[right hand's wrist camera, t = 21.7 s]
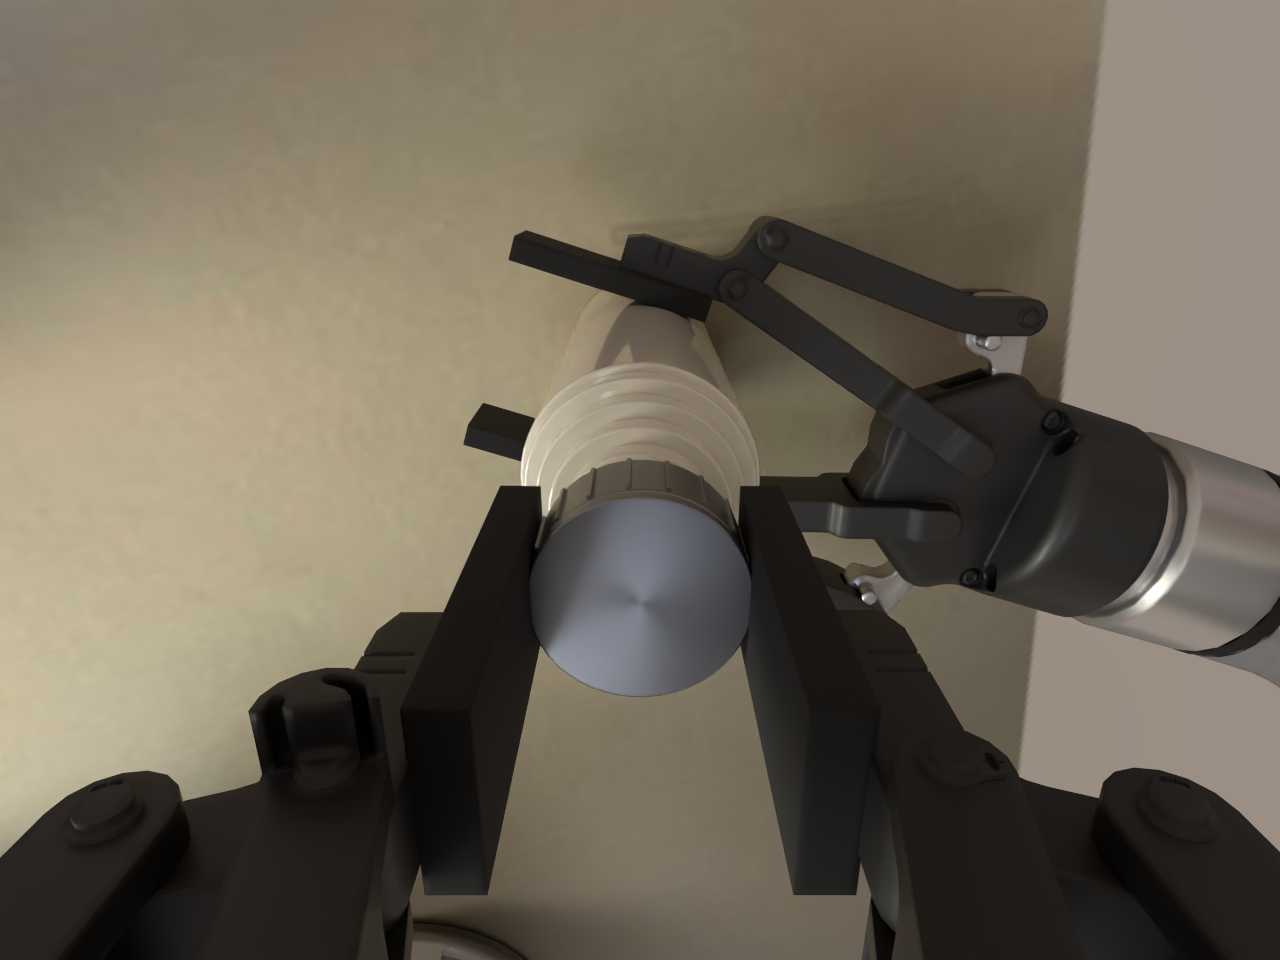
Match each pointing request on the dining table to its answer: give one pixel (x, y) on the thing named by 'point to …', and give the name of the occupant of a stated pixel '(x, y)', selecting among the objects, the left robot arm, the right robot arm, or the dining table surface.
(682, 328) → the bottle
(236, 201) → the dining table surface
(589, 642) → the cap
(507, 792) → the right robot arm
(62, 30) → the dining table surface
